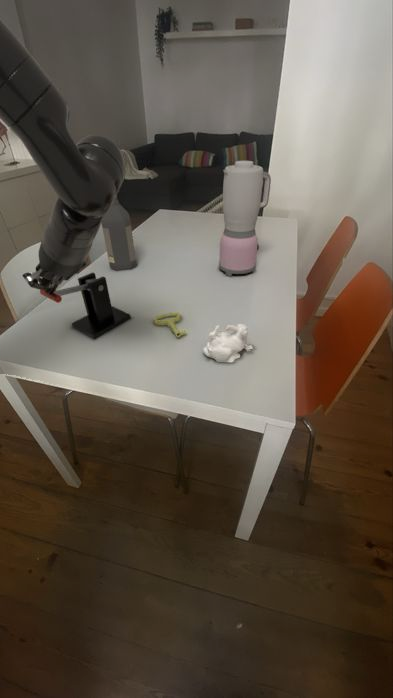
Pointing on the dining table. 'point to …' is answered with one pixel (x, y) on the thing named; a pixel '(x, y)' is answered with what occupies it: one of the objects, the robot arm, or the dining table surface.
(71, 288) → the lever
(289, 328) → the dining table surface
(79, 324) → the switch bracket
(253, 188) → the blender
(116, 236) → the liquor
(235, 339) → the rabbit figurine
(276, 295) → the dining table surface
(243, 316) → the dining table surface
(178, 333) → the key
